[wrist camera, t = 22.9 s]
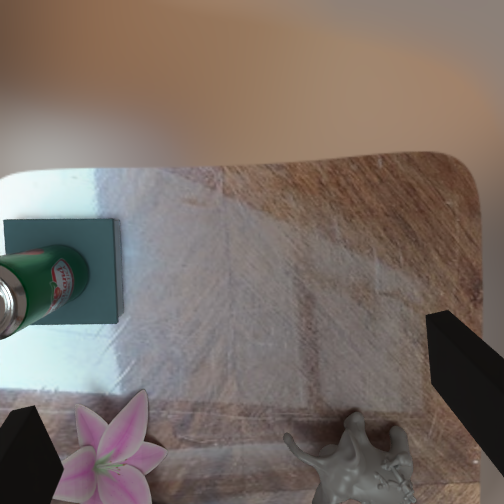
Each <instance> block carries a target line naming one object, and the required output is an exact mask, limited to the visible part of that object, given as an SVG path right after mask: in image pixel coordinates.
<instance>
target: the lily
mask: <svg viewBox="0 0 504 504" xmlns="http://www.w3.org/2000/svg"><path fill="white" fill-rule="evenodd" d="M75 417H76V427H77V434H78V440H79V446H80V449H79V450H77V451H76V452H74V453H73V454H72V455H70V456H69V457H67V458H66V459H64V460H63V461H62V462H61V463H62V465H63V467H64V471H63V474H62V476H61V479H60V481H59V483H58V486H57V488H56V491H55V493H54V495H53V499H58V500H63V501H69V502H75V503H80V504H152V500H151V494H150V489H149V485H148V483H147V480H146V478H145V475H147V474H148V473H149V472H151V471H152V470H153V469H154V468H155V467H156V466H158V465H159V464H160V463H161V462H162V460H163V459H164V458H165V457H166V456H167V453H168V452H167V450H166V449H165V448H163V447H161V446H158V445H156V444H153V443H149V442H144V438H145V434H146V429H147V420H148V399H147V393H146V391H145V390H141V391H140V392H139V393H137V394H136V395H135V396H134V397H133V398H132V400H131V401H130V402H129V403H128V404H127V405H126V406H125V407H124V408H123V409H122V410H121V411H120V412H119V414H118V415H117V416H116V417H115V418H114V419H113V420H112V421H111V423H110V424H109V425H108V424H107V422H106V421H105V420H103V419H102V418H101V417H100V416H99V415H97V414H96V413H95V412H93V411H92V410H90V409H89V408H87V407H85V406H83V405H81V404H76V406H75Z"/></svg>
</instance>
